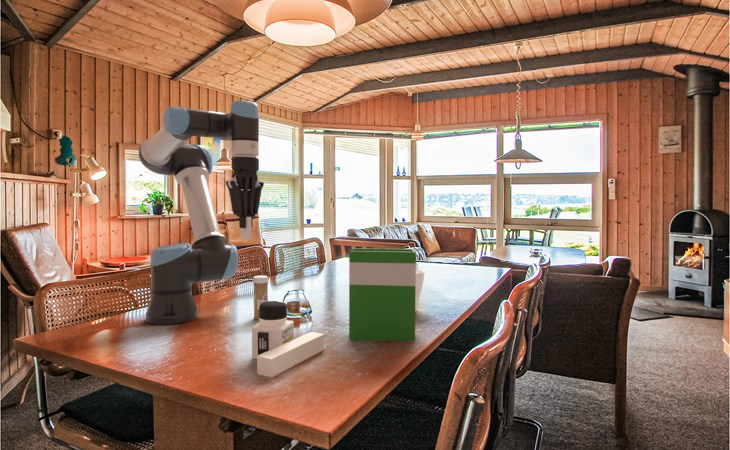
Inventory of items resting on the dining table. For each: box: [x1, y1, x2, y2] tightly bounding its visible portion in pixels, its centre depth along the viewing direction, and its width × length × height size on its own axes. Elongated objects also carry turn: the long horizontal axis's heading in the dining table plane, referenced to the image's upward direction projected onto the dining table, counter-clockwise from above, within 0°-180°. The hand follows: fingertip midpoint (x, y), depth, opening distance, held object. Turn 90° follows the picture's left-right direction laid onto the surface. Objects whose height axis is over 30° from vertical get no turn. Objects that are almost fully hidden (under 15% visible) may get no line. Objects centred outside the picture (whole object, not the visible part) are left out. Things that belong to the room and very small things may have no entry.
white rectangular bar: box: [256, 331, 325, 378], centre depth 104 cm, size 4×20×4 cm, turn 152°
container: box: [251, 300, 295, 360], centre depth 108 cm, size 8×8×13 cm
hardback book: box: [348, 247, 417, 342], centre depth 123 cm, size 18×7×24 cm, turn 84°
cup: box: [415, 269, 425, 313], centre depth 152 cm, size 10×10×14 cm
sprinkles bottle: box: [252, 275, 269, 321], centre depth 141 cm, size 5×5×14 cm
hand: (246, 239), depth 129 cm, fingers closed
